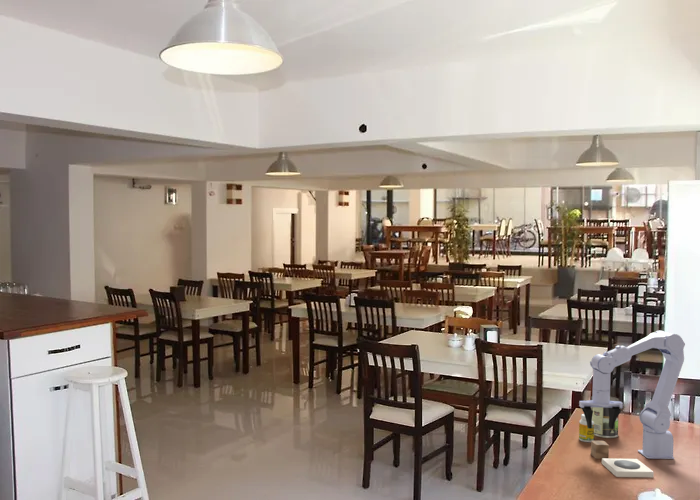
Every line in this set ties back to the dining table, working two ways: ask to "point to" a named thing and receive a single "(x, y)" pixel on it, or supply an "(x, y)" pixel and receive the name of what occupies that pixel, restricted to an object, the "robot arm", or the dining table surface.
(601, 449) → the walnut block
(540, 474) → the dining table surface
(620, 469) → the base board
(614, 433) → the coffee can
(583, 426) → the supplement bottle
